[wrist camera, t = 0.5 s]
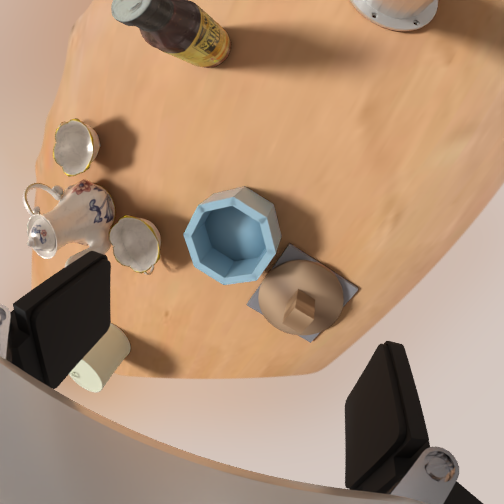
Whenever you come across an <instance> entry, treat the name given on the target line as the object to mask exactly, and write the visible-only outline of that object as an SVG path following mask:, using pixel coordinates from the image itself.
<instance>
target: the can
mask: <svg viewBox="0 0 504 504" xmlns="http://www.w3.org/2000/svg"><path fill="white" fill-rule="evenodd" d="M130 350H131V347H130V342H129V340H128V338H127V336H126V335H125V334H124V333H123V331H122V330H121V329H119V328H118V327H117V326H115V325H114V324H112V323H110V327H109V329H108V331H107V332H106V333H105V335H104V336H103V337H102V338H101V339H100V340H99V341H98V342H97V343H96V344H95V345H94V347H93V348H92V349H91V350H90V351H89V352H88V353H87V354H86V355H85V356H84V358H83V359H82V360H81V361H80V362H79V363H78V364H77V365H76V366H75V368H74V369H73V370H72V371H71V372H70V373H69V375H70V376H71V378H72V379H73V380H74V381H75V382H76V383H77V384H79V385H80V386H81V387H83V388H85V389H86V390H89V391H91V392H100V391H101V390H102V388H103V387H104V385H105V384H106V382H107V381H108V380H109V378H110V377H111V376H112V374H113V373H114V372H115V370H116V369H117V368H118V366H119V365H120V364H121V362H122V361H123V360H124V358H125V357H126V356H127V355H128V354H129V353H130Z"/></svg>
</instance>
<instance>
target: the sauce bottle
mask: <svg viewBox="0 0 504 504" xmlns="http://www.w3.org/2000/svg"><path fill="white" fill-rule="evenodd" d="M111 9H112V15H113V17H114V18H115V19H116V20H117V21H119V22H121V23H123V24H125V25H128V26H136V27H138V28H140V31H141V34H142V37H143V38H144V39H145V41H146V42H147V43H149V44H150V45H151V46H153V47H155V48H158V49H159V50H161V51H163V52H165V53H168V54H170V55H172V56H175V57H177V58H179V59H182V60H184V61H186V62H188V63H191V64H193V65H195V66H199V67H207V68H209V67H215V66H217V65H219V64H221V63H222V62H223V61H224V60H225V59H226V58H227V56H228V54H229V52H230V49H231V42H230V39H229V36H228V34H227V32H226V31H225V30H224V29H223V28H222V27H221V26H220V25H219V24H218V23H217V22H216V21H214V20H213V19H212V18H211V17H210V16H209V15H208V14H207V13H206V12H204V11H203V10H202V9H201V8H200V7H199V6H198V5H196V4H195V3H194V2H191V1H188V0H113V2H112V8H111Z"/></svg>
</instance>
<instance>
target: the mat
mask: <svg viewBox="0 0 504 504" xmlns="http://www.w3.org/2000/svg"><path fill="white" fill-rule="evenodd" d="M298 259H299V260H310V261H314V262H317V263H320V262H318V261H317V260H315V259H313V258H312V257H310V256H309V255H307V254H306V253H304V252H303V251H301V250H299V249H298V248H296V247H295V246H293V245H292V244H289V245H288V246H287V248H286V249H285V251H284V252H283V254H282V255H281V256H280V258H279V259H278V261H277V262H276V263H275V265H274V266H273V268H274V267H276V266H277V265H279V264H281V263H284V262H287V261H291V260H298ZM320 264H321V263H320ZM322 265H323V264H322ZM325 267H326V266H325ZM273 268H272V269H273ZM272 269H271V270H272ZM328 269H329V268H328ZM331 271H332V270H331ZM332 272H333V273H334V274H335V275H336V277H337V278H338V280H339V282H340V284H341V286H342V290H343V299H344V302H343V307H344V306H345V304H346V303H347V302H348V301H349V300H350V299H351V298H352V296H353V295H354V294H355V293H356V292H357V291H358V287H356V286H355V285H353V284H352V283H350V282H349V281H347V280H346V279H344V278H343V277H341V276H340V275H338V274H337V273H335V272H334V271H332ZM261 284H262V283H261ZM260 287H261V285H260V286H259V287H258V289H257V290H256V292H255V293H254V294H253V296H252V297H251V299H250V300H249V301H248V303H247V306H249V307H251V308H252V309H254V310H256V311H257V312H259V313H261V314H262V315H263V313H262V312H261V309H260V306H259V299H258V296H259V290H260ZM319 333H320V332H319ZM319 333H316V334H312V335H298V336H300V337H302V338H304V339H305V340H307V341H309V342H310V343H311V342H312V341H313V340H314V338H315V337H316V336H317V335H318V334H319Z"/></svg>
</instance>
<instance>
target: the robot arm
mask: <svg viewBox="0 0 504 504" xmlns="http://www.w3.org/2000/svg"><path fill="white" fill-rule="evenodd" d="M350 2H351V3H352V5H353V6H354V7H355V8H356V10H357V11H358V12H359V13H361V14H362V15H363V16H364V17H365V18H367V19H368V20H370V21H371V22H373V23H375V24H377V25H379V26H381V27H384V28H387V29H390V30H395V31H412V30H417V29H419V28H422V27H424V26H425V25H426V24H428V23H429V22H430V21H431V20H432V19H433V17H434V16H435V14H436V12H437V8H438V0H350ZM372 16H375V17H376V18H373V17H372ZM414 23H416V25H415V24H414ZM110 269H111V265H110V262H109V261H108V259H107V256H106V255H104V254H101V253H98V252H95V251H89V252H88V253H86V254H85V255H83V256H82V257H80V258H78V259H77V260H75V261H74V262H72V263H71V264H69V265H68V266H66V267H65V268H63V269H62V270H60V271H59V272H57V273H56V274H54V275H53V276H52V277H50V278H49V279H47V280H46V281H44V282H43V283H41V284H40V285H39V286H37V287H36V288H34V289H33V290H31V291H30V292H29V293H27V294H26V295H25V296H23V297H22V298H20V299H19V300H18V301H16V302H15V303H14V304H13V307H14V310H13V311H12V312H10V311H9V309H8V308H7V307H6V306H4V305H1V304H0V504H483V503H482V502H481V501H479V500H478V499H477V498H476V497H475V496H473V495H472V494H471V493H470V492H469V491H467V490H466V489H465V488H464V487H463V486H462V485H460V484H459V483H458V482H457V481H456V480H457V478H458V475H459V466H458V463H457V461H456V459H455V457H454V456H453V455H452V454H451V453H450V452H449V451H447V450H445V449H443V448H440V447H430V445H429V438H428V433H427V429H426V425H425V421H424V416H423V412H422V408H421V404H420V401H419V397H418V393H417V389H416V386H415V383H414V379H413V375H412V372H411V368H410V365H409V361H408V358H407V355H406V352H405V348H404V346H403V345H402V344H399V343H395V342H391V341H386V342H385V343H384V344H380V345H379V346H378V347H377V349H376V351H375V352H374V354H373V356H372V358H371V360H370V361H369V363H368V365H367V366H366V368H365V370H364V371H363V373H362V375H361V377H360V378H359V380H358V381H357V383H356V385H355V386H354V388H353V390H352V391H351V393H350V394H349V396H348V398H347V400H346V403H345V435H346V438H345V439H346V471H345V472H346V473H345V486H346V488H349V489H341V488H334V487H327V486H321V485H314V484H309V483H303V482H297V481H292V480H287V479H282V478H277V477H273V476H268V475H264V474H260V473H256V472H252V471H248V470H244V469H241V468H237V467H233V466H230V465H226V464H223V463H220V462H216V461H213V460H210V459H207V458H203V457H201V456H197V455H195V454H192V453H189V452H186V451H183V450H180V449H178V448H175V447H172V446H169V445H167V444H164V443H162V442H159V441H157V440H154V439H152V438H149V437H147V436H145V435H142V434H140V433H138V432H135V431H133V430H131V429H128V428H126V427H124V426H122V425H120V424H117V423H116V422H113V421H111V420H109V419H107V418H105V417H103V416H101V415H99V414H97V413H95V412H93V411H91V410H89V409H87V408H85V407H83V406H82V405H80V404H78V403H76V402H74V401H73V400H71V399H69V398H67V397H65V396H64V395H62V394H60V393H59V392H57V391H55V390H54V389H55V388H57V387H58V386H59V385H60V383H61V382H62V381H63V380H64V379H65V378H66V376H67V375H68V374H69V373H70V372H71V371H72V370H73V369H74V368H75V366H76V365H77V364H78V363H79V362H80V361H81V360H82V359H83V358H84V356H85V355H86V354H87V353H88V352H89V351H90V350H91V349H92V348H93V347H94V345H95V344H96V343H97V342H98V341H99V340H100V339H101V338H102V337H103V336H104V335H105V333H106V332H107V331H108V329H109V327H110V322H111V321H110ZM52 388H53V389H52Z"/></svg>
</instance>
